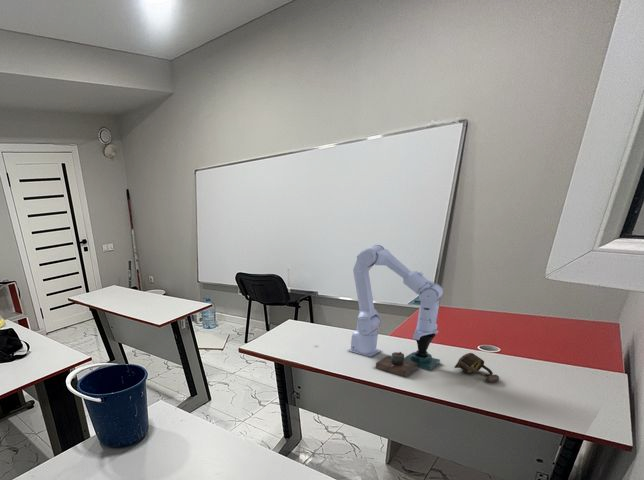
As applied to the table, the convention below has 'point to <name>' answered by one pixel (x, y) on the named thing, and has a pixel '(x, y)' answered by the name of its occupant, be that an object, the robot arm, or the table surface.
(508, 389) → the table surface
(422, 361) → the button box
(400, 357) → the dial knob
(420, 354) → the button
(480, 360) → the mechanical counter
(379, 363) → the dial panel
